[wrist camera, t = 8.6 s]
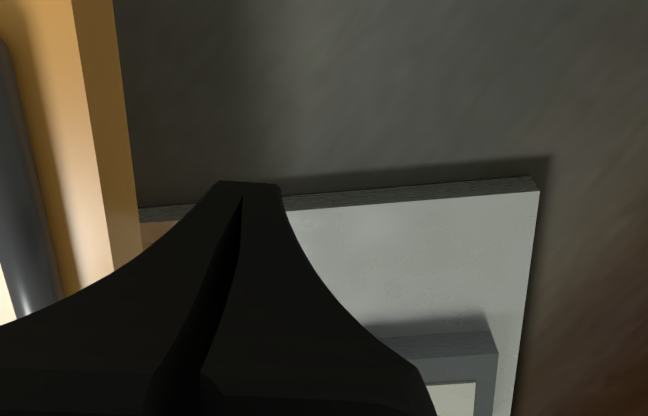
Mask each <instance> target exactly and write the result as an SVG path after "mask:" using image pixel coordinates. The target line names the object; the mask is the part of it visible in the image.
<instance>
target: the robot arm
mask: <svg viewBox="0 0 648 416" xmlns="http://www.w3.org/2000/svg"><path fill="white" fill-rule="evenodd" d="M0 416H437V413H436V410H435V407H434V405H433V402H432V399H431V397H430V394H429V392H428V390H427V387H426V385H425V383H424V381H423V378H422V376H421V374H420V372H419V370H418V368H417V367H416V366H414V365H413V364H412V363H410V362H409V361H407V360H406V359H404V358H403V357H402V356H400V355H399V354H397V353H396V352H395V351H393V350H392V349H390V348H389V347H388V346H386V345H385V344H383V343H382V342H381V341H380V340H378V339H377V338H376V337H375V336H374V335H372V334H371V333H370V332H369V331H368V330H367V329H365V328H364V327H363V326H362V325H361V324H360V323H359V322H358V321H357V320H356V319H355V318H354V317H353V316H352V315H351V314H350V313H349V312H348V311H347V310H346V309H345V308H344V307H343V305H342V304H341V303H340V302H339V301H338V300H337V299H336V297H335V296H334V295H333V294H332V292H331V291H330V290H329V289H328V287H327V286H326V285H325V283H324V282H323V281H322V279H321V278H320V277H319V275H318V274H317V272H316V271H315V269H314V268H313V266H312V265H311V263H310V261H309V260H308V258H307V256H306V254H305V253H304V251H303V249H302V247H301V245H300V243H299V242H298V240H297V237H296V235H295V233H294V231H293V229H292V227H291V224H290V222H289V219H288V217H287V214H286V211H285V208H284V205H283V201H282V195H281V189H280V187H279V186H278V185H277V184H265V183H250V182H236V181H221V180H219V181H218V182H217V183H216V184H214V185H213V186H212V187H211V189H210V190H209V191H208V192H207V193H206V194H205V195H204V196H203V197H202V198H201V199H200V200H199V201H198V202H197V204H196V205H195V206H194V207H193V208H192V209H191V210H190V211H189V212H188V213H187V214H185V215H184V216H183V217H182V218H181V219H180V220H179V221H178V222H177V223H176V224H175V225H174V226H173V227H172V228H171V229H170V230H168V231H167V232H166V233H165V234H164V235H163V236H161V237H160V238H159V239H158V240H157V241H155V242H154V243H153V244H152V245H151V246H149V247H148V248H147V249H146V250H144V251H143V252H142V253H140V254H139V255H138V256H136V257H135V258H134V259H132V260H131V261H129V262H128V263H126V264H125V265H123V266H122V267H120V268H118V269H117V270H115V271H114V272H112V273H111V274H109V275H107V276H105V277H104V278H102V279H100V280H98V281H96V282H94V283H93V284H91V285H89V286H87V287H85V288H83V289H82V290H80V291H78V292H76V293H74V294H73V295H71V296H69V297H67V298H64V299H62V300H60V301H58V302H56V303H54V304H52V305H49V306H47V307H45V308H43V309H40V310H38V311H36V312H33V313H31V314H29V315H26V316H24V317H21V318H19V319H16V320H14V321H11V322H9V323H6V324H3V325H0Z"/></svg>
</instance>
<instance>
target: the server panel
mask: <svg viewBox="0 0 648 416" xmlns="http://www.w3.org/2000/svg"><path fill="white" fill-rule="evenodd" d="M539 195H540V190H539V188H538V187H537V185H536V184H535V182H534V181H533V179H532V178H531V176H525V177H513V178H501V179H489V180H477V181H465V182H452V183H440V184H428V185H416V186H404V187H392V188H379V189H367V190H355V191H343V192H331V193H319V194H306V195H294V196H282V201H283V205H284V208H285V211H286V214H287V217H288V219H289V222H290V224H291V227H292V229H293V231H294V233H295V235H296V237H297V240H298V242H299V243H300V245H301V247H302V249H303V251H304V253H305V254H306V256H307V258H308V260H309V261H310V263H311V265H312V266H313V268H314V269H315V271H316V272H317V274H318V275H319V277H320V278H321V279H322V281H323V282H324V283H325V285H326V286H327V287H328V289H329V290H330V291H331V292H332V294H333V295H334V296H335V297H336V299H337V300H338V301H339V302H340V303H341V304H342V305H343V307H344V308H345V309H346V310H347V311H348V312H349V313H350V314H351V315H352V316H353V317H354V318H355V319H356V320H357V321H358V322H359V323H360V324H361V325H362V326H363V327H364V328H365V329H367V330H368V331H369V332H370V333H371V334H372V335H374V336H375V337H376V338H377V339H378V340H380V341H381V342H382V343H383V344H385V345H386V346H388V347H389V348H390V349H392V350H393V351H395V352H396V353H397V354H399V355H400V356H402V357H403V358H404V359H406V360H407V361H409V362H410V363H412V364H413V365H414V366H416V367H417V368H418V370H419V372H420V374H421V376H422V378H423V381H424V383H425V385H426V387H427V390H428V392H429V394H430V397H431V399H432V402H433V405H434V407H435V410H436V413H437V416H510V412H511V405H512V397H513V390H514V382H515V375H516V367H517V360H518V353H519V345H520V338H521V330H522V323H523V315H524V308H525V300H526V293H527V285H528V278H529V270H530V263H531V255H532V248H533V240H534V233H535V225H536V218H537V210H538V203H539ZM195 205H196V204H185V205H172V206H160V207H148V208H138V215H139V223H140V231H141V239H142V248H143V251H144V250H146V249H147V248H148V247H149V246H151V245H152V244H153V243H154V242H155V241H157V240H158V239H159V238H160V237H161V236H163V235H164V234H165V233H166V232H167V231H168V230H170V229H171V228H172V227H173V226H174V225H175V224H176V223H177V222H178V221H179V220H180V219H181V218H182V217H183V216H184V215H185V214H187V213H188V212H189V211H190V210H191V209H192V208H193V207H194V206H195Z"/></svg>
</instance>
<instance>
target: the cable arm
mask: <svg viewBox="0 0 648 416" xmlns="http://www.w3.org/2000/svg"><path fill="white" fill-rule="evenodd" d="M142 252H143V248H142V239H141V231H140V223H139V215H138V206H137V198H136V190H135V182H134V174H133V165H132V157H131V149H130V141H129V133H128V124H127V116H126V108H125V100H124V91H123V83H122V75H121V67H120V59H119V50H118V42H117V34H116V26H115V17H114V9H113V1H112V0H0V325H3V324H6V323H9V322H11V321H14V320H16V319H19V318H21V317H24V316H26V315H29V314H31V313H33V312H36V311H38V310H40V309H43V308H45V307H47V306H49V305H52V304H54V303H56V302H58V301H60V300H62V299H64V298H67V297H69V296H71V295H73V294H74V293H76V292H78V291H80V290H82V289H83V288H85V287H87V286H89V285H91V284H93V283H94V282H96V281H98V280H100V279H102V278H104V277H105V276H107V275H109V274H111V273H112V272H114V271H115V270H117V269H118V268H120V267H122V266H123V265H125V264H126V263H128V262H129V261H131V260H132V259H134V258H135V257H136V256H138V255H139V254H140V253H142Z"/></svg>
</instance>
